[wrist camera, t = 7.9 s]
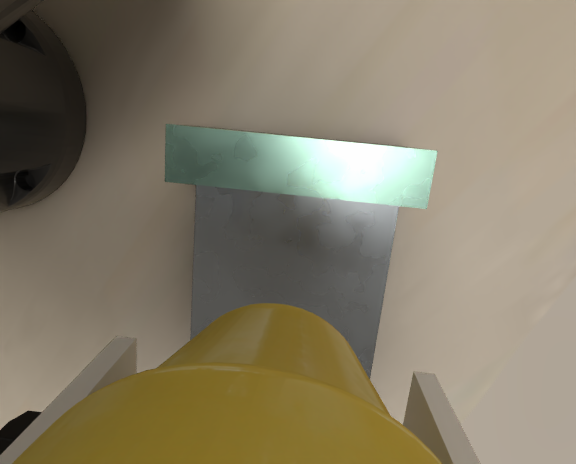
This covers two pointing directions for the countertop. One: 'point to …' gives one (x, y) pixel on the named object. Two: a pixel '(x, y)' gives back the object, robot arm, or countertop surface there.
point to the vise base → (295, 222)
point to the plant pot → (239, 403)
